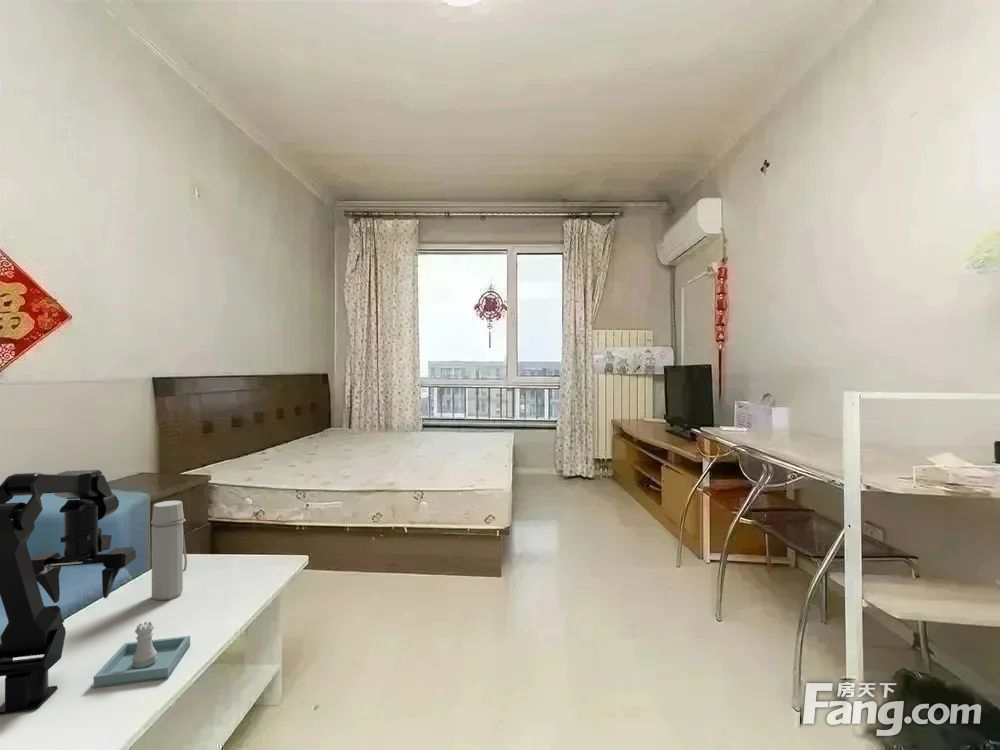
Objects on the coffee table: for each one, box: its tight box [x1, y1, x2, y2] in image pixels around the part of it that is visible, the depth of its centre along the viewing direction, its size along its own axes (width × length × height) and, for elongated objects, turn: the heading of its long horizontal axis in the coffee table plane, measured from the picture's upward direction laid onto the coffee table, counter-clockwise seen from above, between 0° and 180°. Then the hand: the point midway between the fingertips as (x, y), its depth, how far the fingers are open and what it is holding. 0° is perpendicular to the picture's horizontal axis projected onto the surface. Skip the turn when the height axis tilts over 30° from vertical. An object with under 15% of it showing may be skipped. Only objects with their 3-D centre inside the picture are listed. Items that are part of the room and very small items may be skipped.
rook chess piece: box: [132, 621, 158, 669], centre depth 105 cm, size 4×4×8 cm
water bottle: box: [150, 500, 188, 601], centre depth 139 cm, size 9×8×25 cm
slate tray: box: [93, 635, 191, 689], centre depth 105 cm, size 13×13×2 cm
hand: (81, 599), depth 111 cm, fingers open, 9 cm apart
